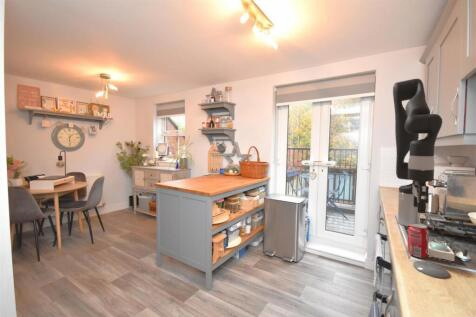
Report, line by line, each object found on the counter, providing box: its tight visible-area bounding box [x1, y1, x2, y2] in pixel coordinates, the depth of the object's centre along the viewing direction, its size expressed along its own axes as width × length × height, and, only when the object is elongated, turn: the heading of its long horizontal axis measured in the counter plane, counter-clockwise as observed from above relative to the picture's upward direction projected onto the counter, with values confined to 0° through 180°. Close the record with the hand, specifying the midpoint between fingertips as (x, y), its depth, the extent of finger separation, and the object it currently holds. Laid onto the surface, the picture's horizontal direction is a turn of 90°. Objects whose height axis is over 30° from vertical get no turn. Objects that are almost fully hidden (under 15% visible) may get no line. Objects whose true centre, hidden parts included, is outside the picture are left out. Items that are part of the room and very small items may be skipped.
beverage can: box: [406, 223, 430, 259], centre depth 82 cm, size 6×6×12 cm
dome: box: [430, 241, 448, 252], centre depth 82 cm, size 4×4×4 cm
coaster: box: [412, 260, 450, 279], centre depth 73 cm, size 9×9×1 cm
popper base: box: [428, 242, 455, 262], centre depth 82 cm, size 7×7×3 cm
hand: (419, 209), depth 81 cm, fingers open, 8 cm apart
